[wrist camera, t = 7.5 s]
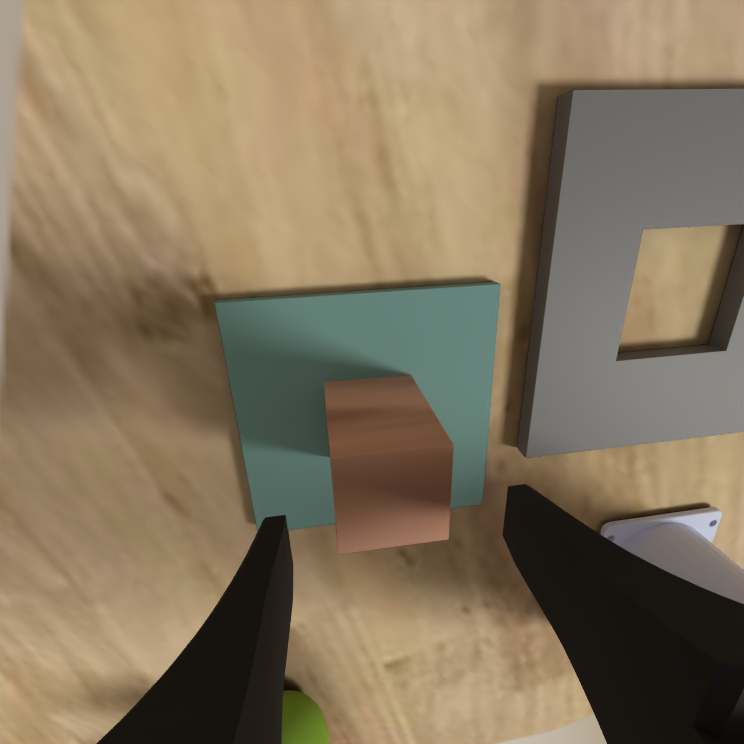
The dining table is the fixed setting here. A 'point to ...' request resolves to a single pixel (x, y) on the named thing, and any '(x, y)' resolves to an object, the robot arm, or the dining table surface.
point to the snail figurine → (302, 720)
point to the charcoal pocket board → (632, 271)
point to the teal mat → (349, 362)
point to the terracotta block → (387, 464)
